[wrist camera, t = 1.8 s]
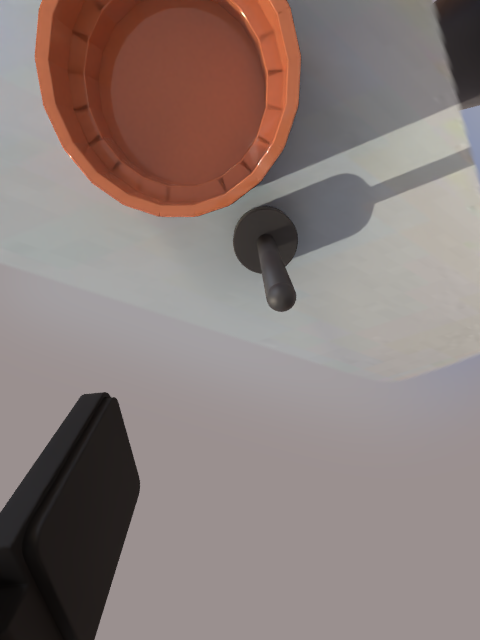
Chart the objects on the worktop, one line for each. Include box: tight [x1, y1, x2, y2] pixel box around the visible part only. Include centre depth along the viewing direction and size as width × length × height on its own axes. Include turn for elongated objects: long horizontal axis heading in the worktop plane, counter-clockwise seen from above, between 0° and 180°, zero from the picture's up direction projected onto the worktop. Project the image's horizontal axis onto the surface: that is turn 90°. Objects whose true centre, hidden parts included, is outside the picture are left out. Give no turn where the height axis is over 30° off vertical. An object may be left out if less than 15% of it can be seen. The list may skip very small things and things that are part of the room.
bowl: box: [35, 0, 301, 217], centre depth 25 cm, size 16×16×6 cm
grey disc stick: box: [233, 206, 298, 312], centre depth 24 cm, size 5×5×16 cm
